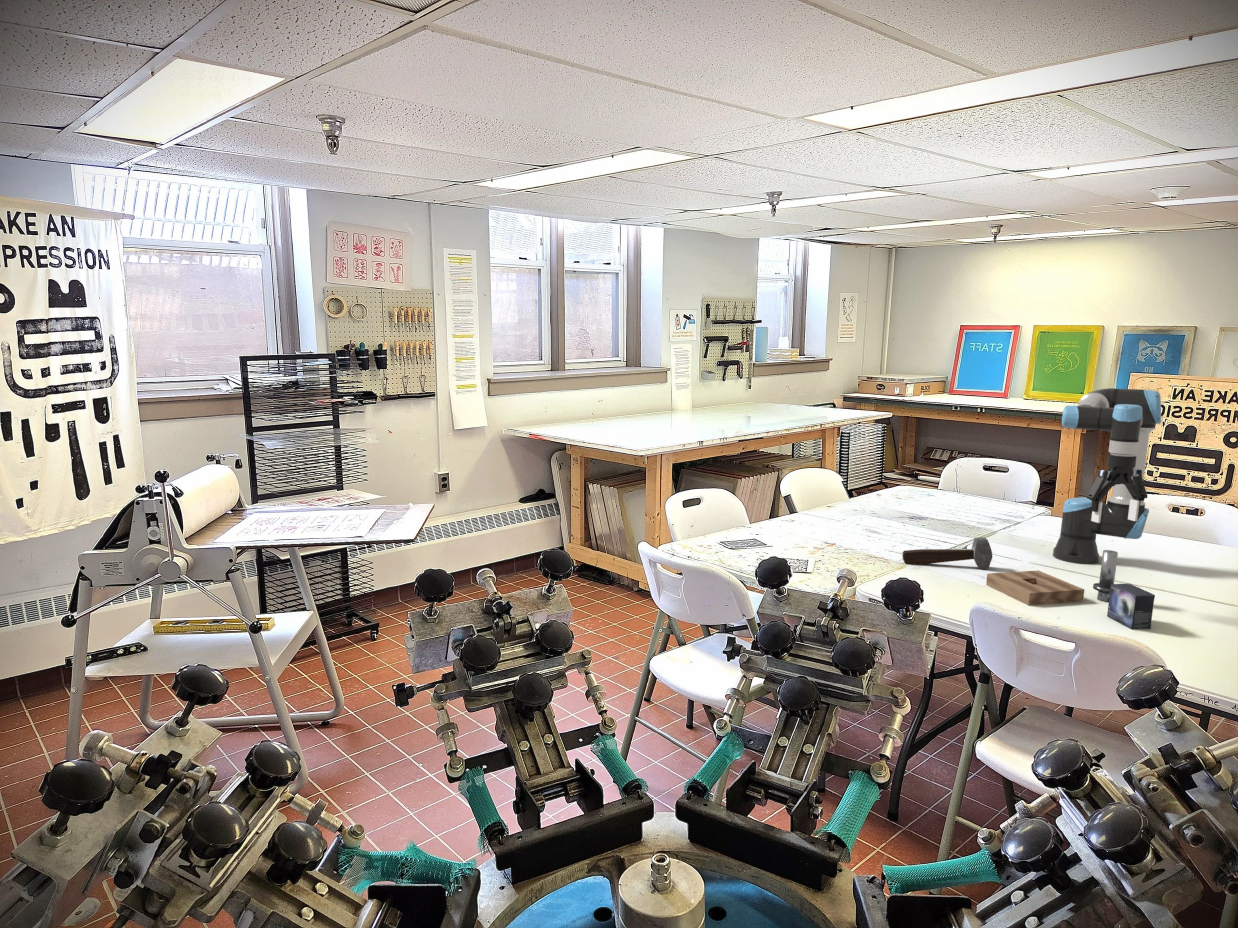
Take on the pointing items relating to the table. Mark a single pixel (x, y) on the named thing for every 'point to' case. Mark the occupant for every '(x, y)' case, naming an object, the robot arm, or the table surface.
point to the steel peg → (1106, 575)
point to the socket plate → (1035, 587)
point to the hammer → (952, 554)
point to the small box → (1130, 606)
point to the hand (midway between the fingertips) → (1114, 521)
